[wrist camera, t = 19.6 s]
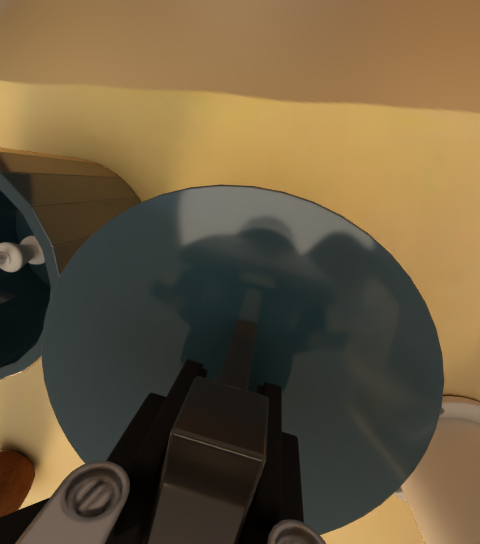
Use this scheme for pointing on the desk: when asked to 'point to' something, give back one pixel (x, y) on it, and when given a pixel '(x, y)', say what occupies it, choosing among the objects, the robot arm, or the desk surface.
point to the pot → (47, 237)
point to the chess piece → (20, 254)
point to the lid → (245, 354)
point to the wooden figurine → (14, 481)
